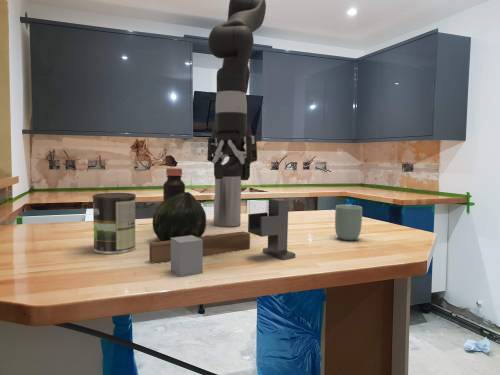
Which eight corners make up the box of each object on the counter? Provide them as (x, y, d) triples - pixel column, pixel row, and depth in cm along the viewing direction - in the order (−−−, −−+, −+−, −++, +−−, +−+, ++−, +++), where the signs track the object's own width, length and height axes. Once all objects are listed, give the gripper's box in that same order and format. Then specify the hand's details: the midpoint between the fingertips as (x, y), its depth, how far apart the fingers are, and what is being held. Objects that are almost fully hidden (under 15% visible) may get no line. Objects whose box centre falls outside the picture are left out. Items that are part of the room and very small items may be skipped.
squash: (149, 217, 110) (154, 183, 100) (197, 217, 116) (207, 184, 106) (152, 257, 101) (159, 224, 91) (205, 255, 107) (216, 223, 97)
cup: (362, 242, 106) (363, 208, 105) (334, 241, 107) (335, 207, 106) (359, 237, 113) (361, 205, 112) (333, 235, 115) (335, 204, 114)
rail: (149, 262, 85) (149, 242, 84) (243, 247, 99) (243, 231, 99) (153, 265, 82) (153, 245, 82) (249, 250, 97) (250, 233, 96)
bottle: (183, 227, 122) (183, 168, 121) (186, 232, 116) (186, 169, 114) (162, 228, 120) (162, 168, 118) (164, 233, 114) (164, 168, 112)
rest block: (170, 270, 78) (170, 237, 77) (192, 266, 81) (192, 235, 80) (180, 276, 74) (180, 242, 73) (202, 272, 77) (202, 239, 76)
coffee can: (93, 256, 88) (92, 197, 86) (93, 246, 97) (92, 193, 96) (138, 252, 92) (137, 196, 90) (134, 242, 101) (133, 192, 100)
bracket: (244, 255, 91) (245, 199, 89) (275, 250, 96) (276, 197, 95) (264, 263, 84) (265, 203, 83) (295, 257, 89) (297, 200, 88)
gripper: (264, 111, 87) (263, 180, 88) (220, 116, 96) (221, 178, 97) (243, 108, 81) (243, 181, 82) (199, 113, 90) (200, 179, 91)
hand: (231, 179), depth 89 cm, fingers open, 8 cm apart
